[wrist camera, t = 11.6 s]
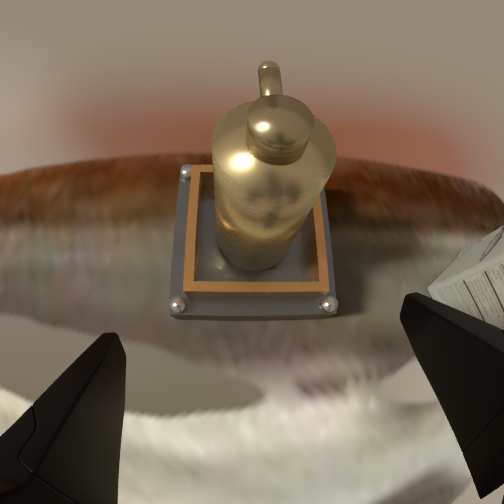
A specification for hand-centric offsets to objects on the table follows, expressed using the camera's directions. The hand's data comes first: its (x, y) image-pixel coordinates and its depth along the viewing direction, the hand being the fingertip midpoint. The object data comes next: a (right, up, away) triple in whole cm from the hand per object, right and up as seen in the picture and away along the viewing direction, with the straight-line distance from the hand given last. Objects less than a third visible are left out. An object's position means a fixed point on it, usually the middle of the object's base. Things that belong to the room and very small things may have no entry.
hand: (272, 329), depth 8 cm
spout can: (0, +3, +12) cm, 13 cm away
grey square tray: (-1, +2, +15) cm, 15 cm away
